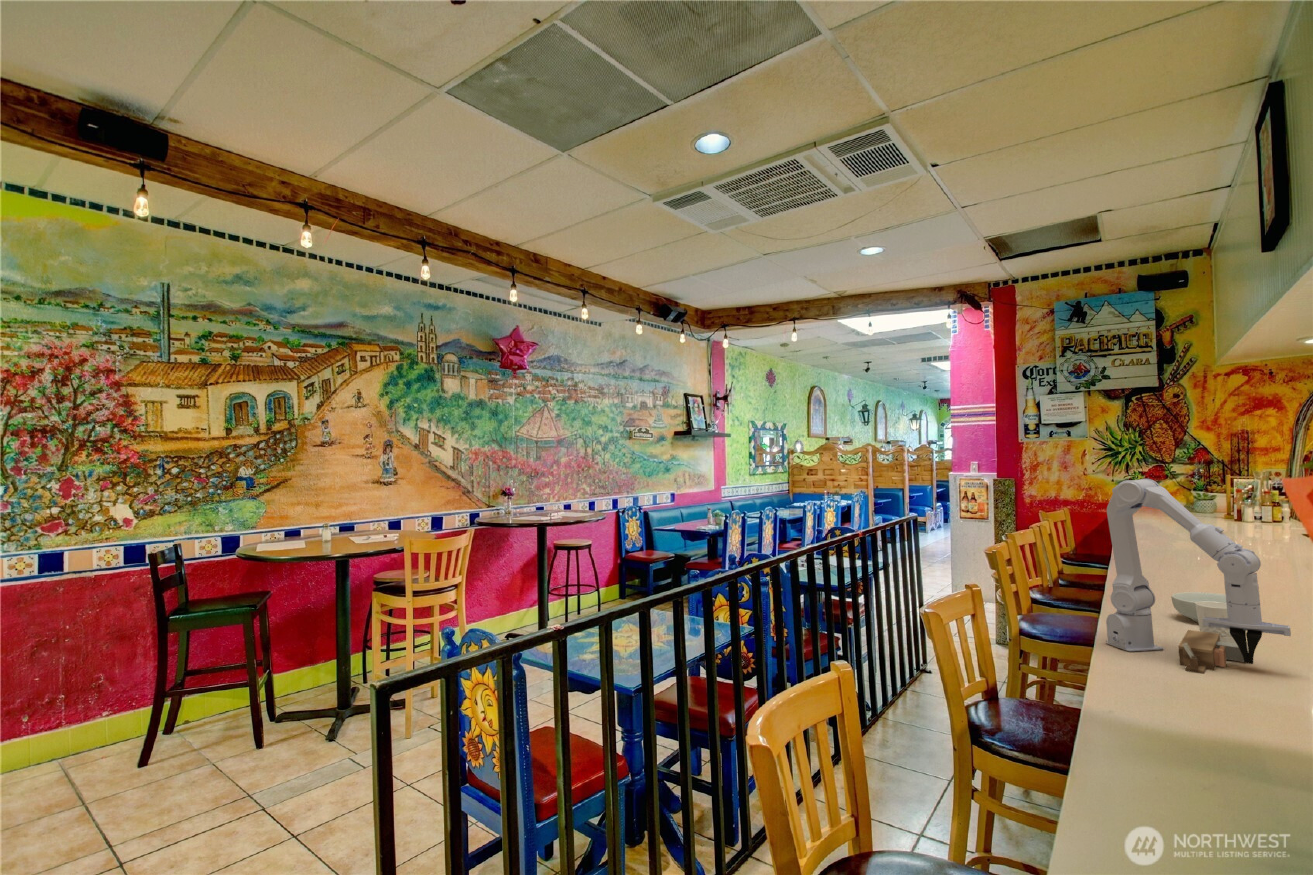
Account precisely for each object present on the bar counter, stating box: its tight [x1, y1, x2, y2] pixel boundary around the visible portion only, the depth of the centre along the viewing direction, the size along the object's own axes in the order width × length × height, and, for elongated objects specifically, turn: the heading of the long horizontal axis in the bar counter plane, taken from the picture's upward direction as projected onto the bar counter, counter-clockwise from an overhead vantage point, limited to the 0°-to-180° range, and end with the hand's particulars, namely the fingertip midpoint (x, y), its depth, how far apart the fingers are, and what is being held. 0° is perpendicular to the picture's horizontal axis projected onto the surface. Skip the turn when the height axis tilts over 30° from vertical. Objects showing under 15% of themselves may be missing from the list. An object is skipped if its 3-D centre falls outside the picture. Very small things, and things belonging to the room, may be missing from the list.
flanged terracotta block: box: [1214, 646, 1227, 668], centre depth 146 cm, size 7×4×4 cm, turn 43°
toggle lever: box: [1182, 643, 1199, 662], centre depth 143 cm, size 1×2×4 cm, turn 133°
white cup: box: [1195, 601, 1236, 644], centre depth 161 cm, size 8×8×10 cm
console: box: [1178, 629, 1220, 674], centre depth 148 cm, size 6×22×4 cm, turn 133°
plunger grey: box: [1217, 641, 1248, 663], centre depth 148 cm, size 7×4×4 cm, turn 43°
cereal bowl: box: [1171, 591, 1226, 623], centre depth 180 cm, size 17×17×7 cm
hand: (1248, 662), depth 141 cm, fingers closed
